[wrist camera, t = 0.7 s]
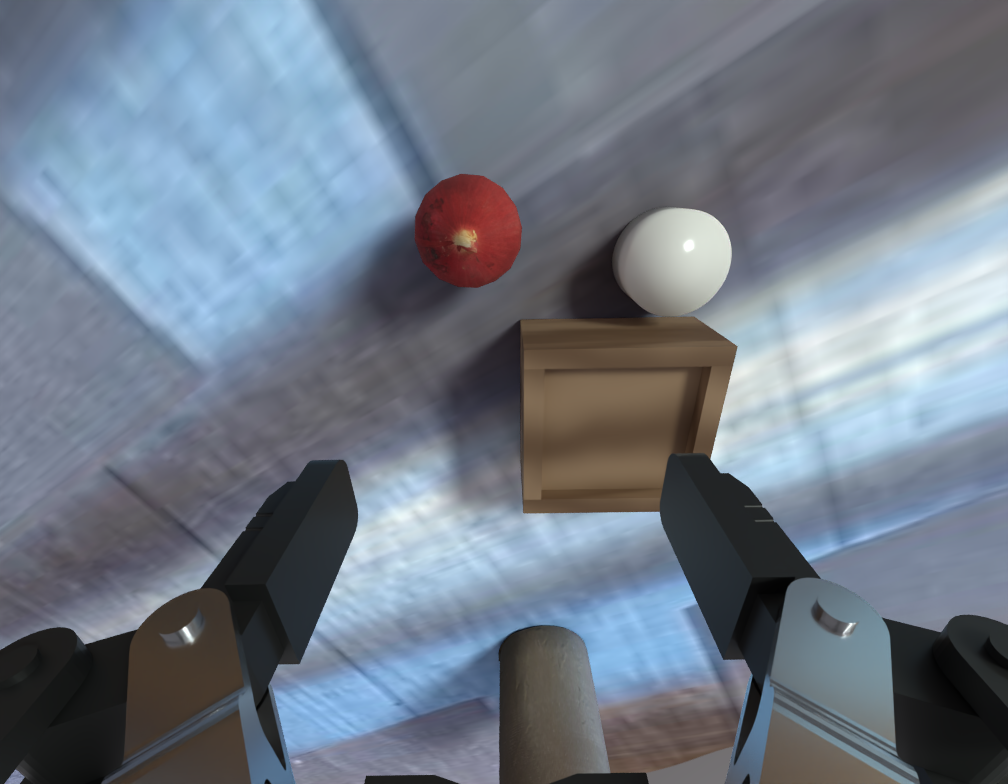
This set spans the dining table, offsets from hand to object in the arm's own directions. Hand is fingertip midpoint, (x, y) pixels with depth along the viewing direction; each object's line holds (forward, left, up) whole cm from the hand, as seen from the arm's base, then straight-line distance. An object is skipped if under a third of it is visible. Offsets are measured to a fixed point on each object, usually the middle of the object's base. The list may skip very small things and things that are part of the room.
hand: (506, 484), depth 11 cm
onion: (-4, -2, -20) cm, 21 cm away
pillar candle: (+39, +4, -20) cm, 44 cm away
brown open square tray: (+8, +7, -20) cm, 22 cm away
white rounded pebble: (-2, +10, -20) cm, 22 cm away
